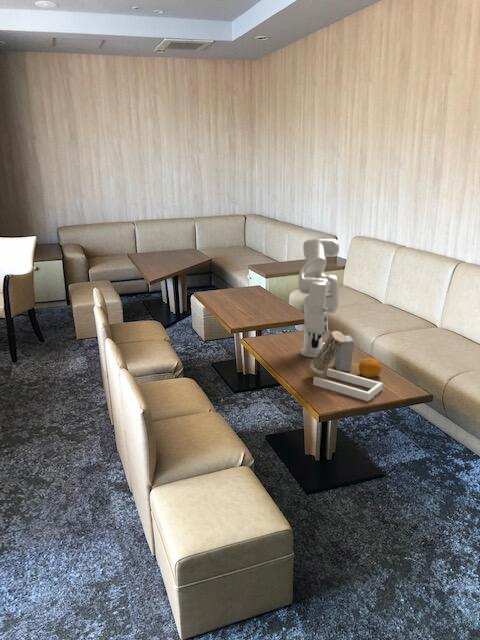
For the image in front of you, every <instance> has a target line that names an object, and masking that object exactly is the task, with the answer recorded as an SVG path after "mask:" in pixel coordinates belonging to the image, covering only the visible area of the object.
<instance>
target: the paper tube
mask: <svg viewBox="0 0 480 640" xmlns="http://www.w3.org/2000/svg"><path fill="white" fill-rule="evenodd" d="M345 336H346V335H345V334H343V333H342V332H341V331H338V330H333V331H332V332H331V333H330V335H329V336H328V338H327V340H326V341H325V342H324V343H325V344H324V345H323V347H322V348H321V350H320V351H319V353H318V354H317V356H316V357H314V359H313V361H312V362H311V363H310V365H309V367H308V368H307V374H308V376H309V377H310V378H312V379H314V377H318V378H322V375H323V374H324V372H325V370H326V369H328V367H329V365H330V364H331V362H332V361H333V359H335V355H336V354H337V352H338V351H339V349H340V348H341V346H342V345H343V344H344V342H345V341H346V337H345Z"/></svg>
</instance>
